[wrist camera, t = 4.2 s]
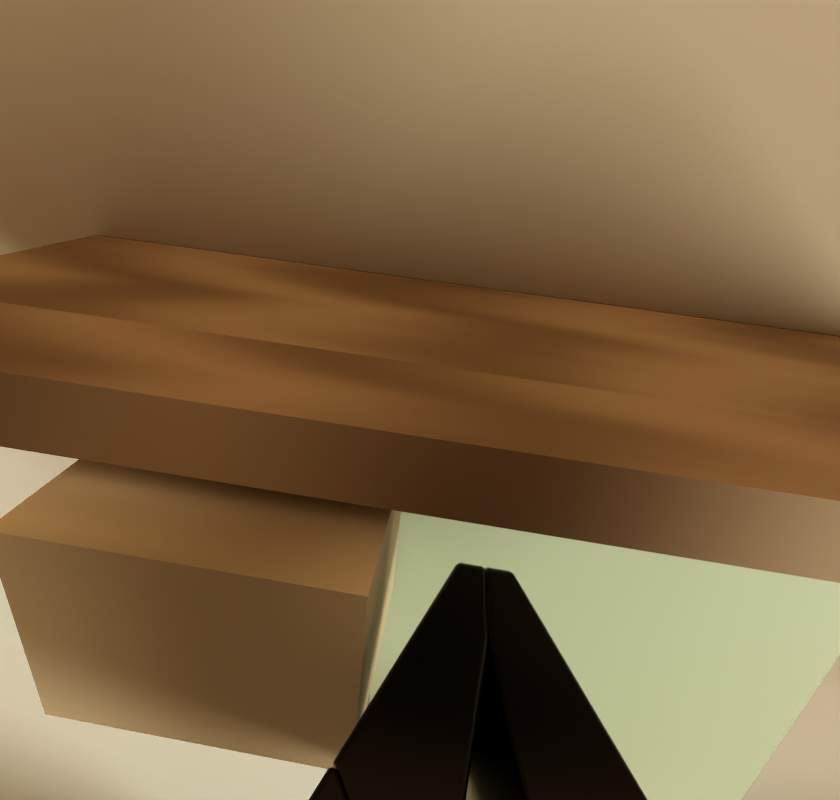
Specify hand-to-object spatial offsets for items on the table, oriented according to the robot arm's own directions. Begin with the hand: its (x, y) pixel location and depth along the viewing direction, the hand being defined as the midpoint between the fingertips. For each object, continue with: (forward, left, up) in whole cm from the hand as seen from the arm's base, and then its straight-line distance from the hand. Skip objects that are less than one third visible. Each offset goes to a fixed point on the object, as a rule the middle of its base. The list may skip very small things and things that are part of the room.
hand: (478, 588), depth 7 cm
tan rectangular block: (-3, 0, -1) cm, 3 cm away
